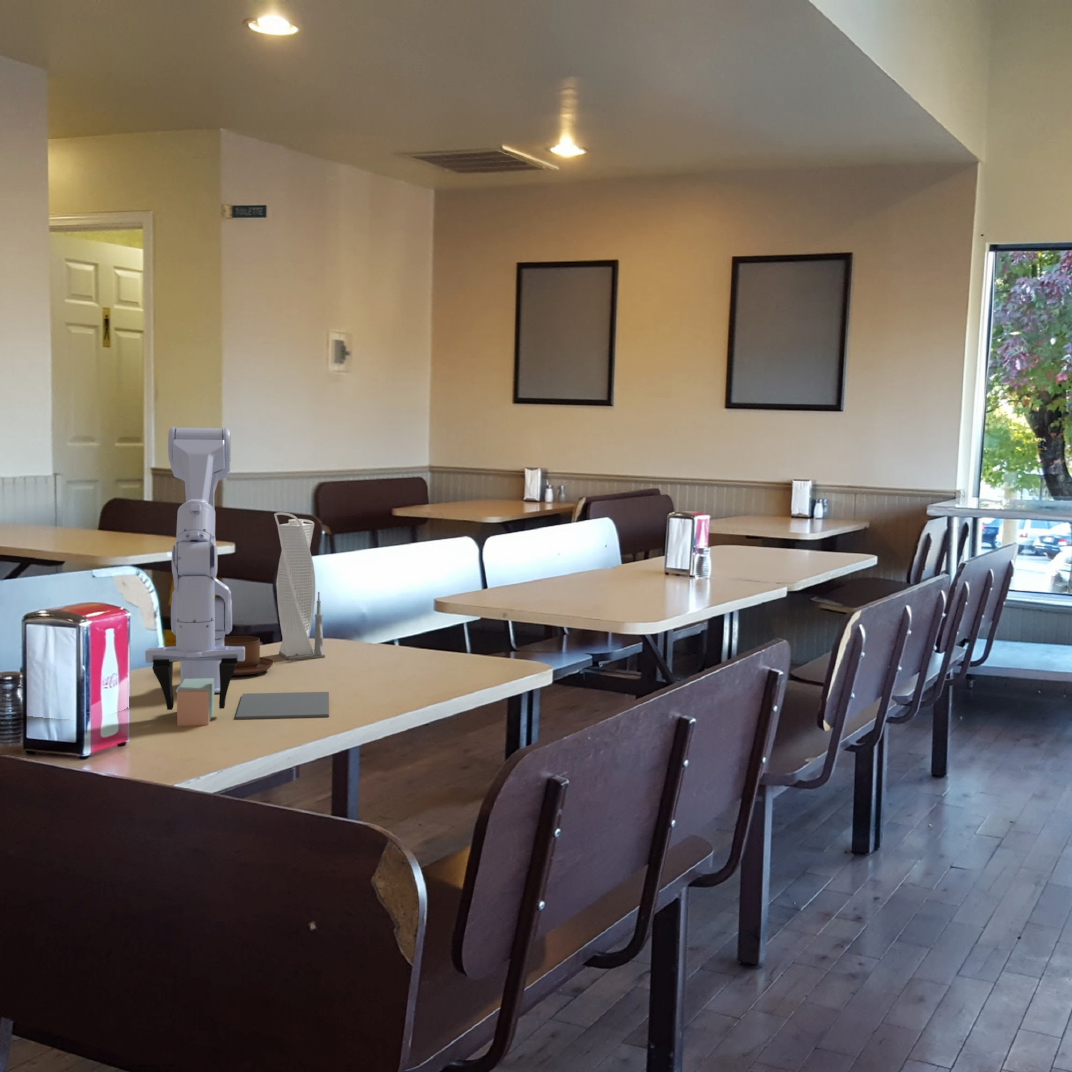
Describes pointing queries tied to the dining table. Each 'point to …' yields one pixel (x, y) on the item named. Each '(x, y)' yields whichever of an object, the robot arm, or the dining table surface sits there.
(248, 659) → the cup and saucer
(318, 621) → the skyscraper
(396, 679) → the dining table surface
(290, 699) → the rubber mat
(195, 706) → the green and orange block
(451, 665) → the dining table surface
